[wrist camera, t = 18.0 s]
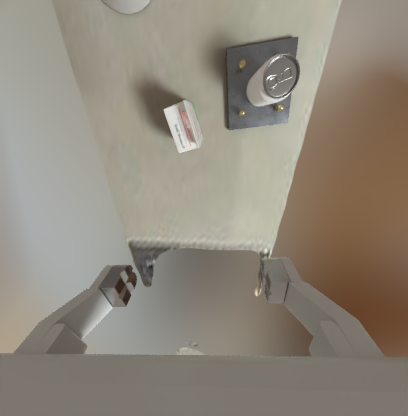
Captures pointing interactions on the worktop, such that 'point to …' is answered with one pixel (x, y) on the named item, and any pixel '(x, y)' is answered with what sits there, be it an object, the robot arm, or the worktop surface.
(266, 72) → the can
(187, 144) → the ink box
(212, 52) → the worktop surface
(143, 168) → the worktop surface
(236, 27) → the worktop surface
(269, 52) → the plate
